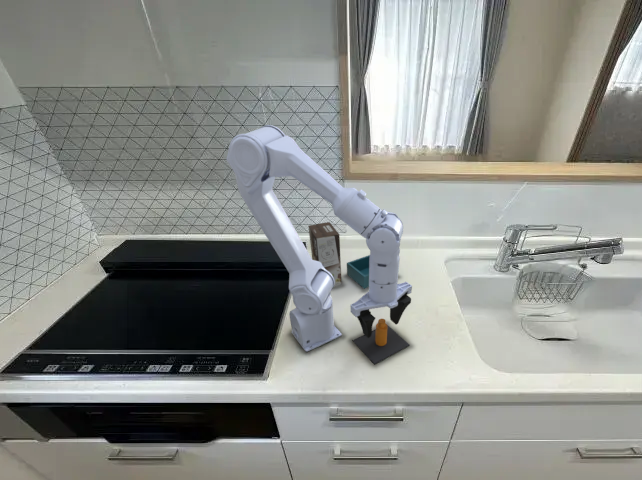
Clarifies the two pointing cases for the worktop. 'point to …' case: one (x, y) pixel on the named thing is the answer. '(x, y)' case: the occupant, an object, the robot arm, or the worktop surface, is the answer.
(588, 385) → the worktop surface
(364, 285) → the teal open bin
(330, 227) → the coffee box
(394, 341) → the mat
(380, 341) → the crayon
